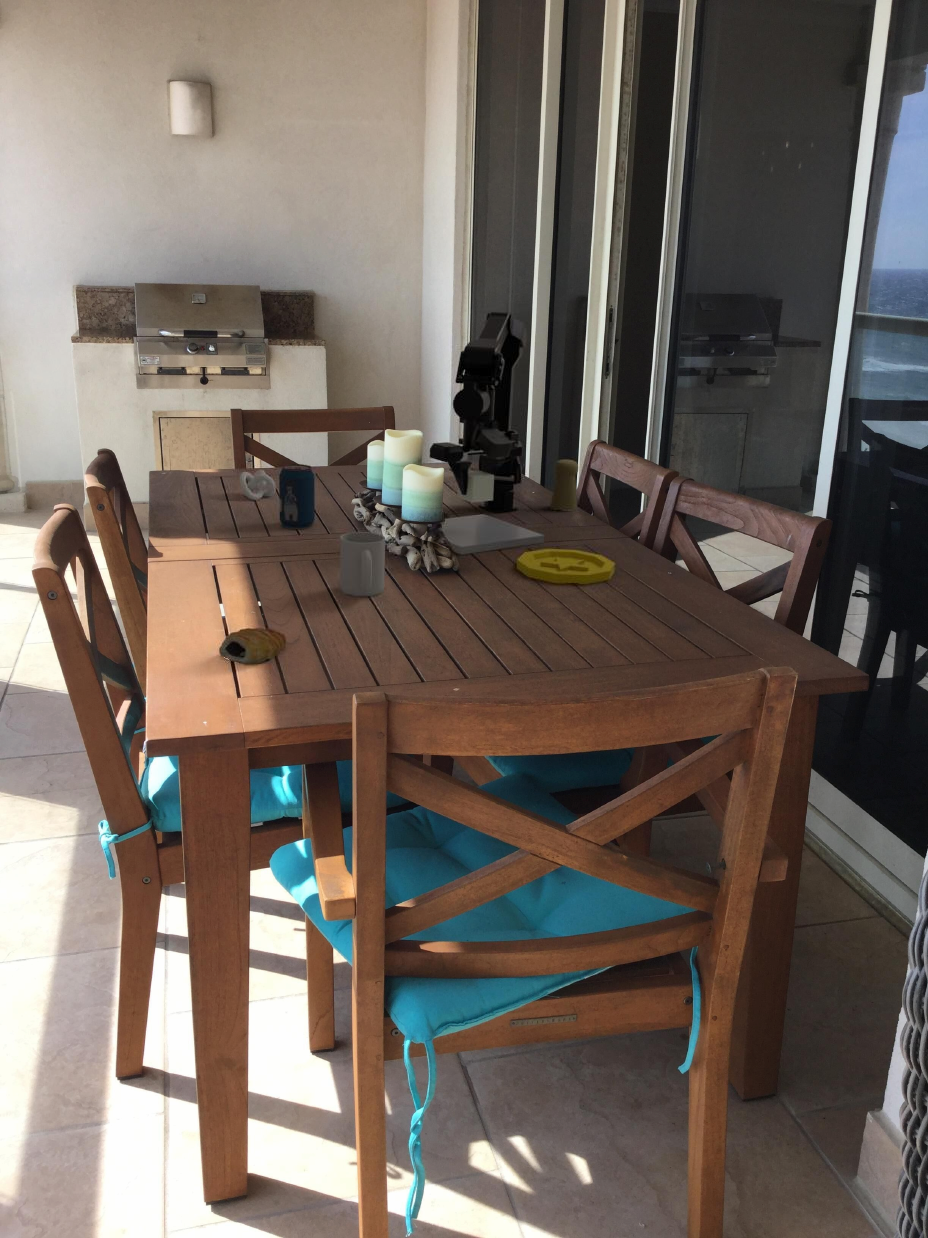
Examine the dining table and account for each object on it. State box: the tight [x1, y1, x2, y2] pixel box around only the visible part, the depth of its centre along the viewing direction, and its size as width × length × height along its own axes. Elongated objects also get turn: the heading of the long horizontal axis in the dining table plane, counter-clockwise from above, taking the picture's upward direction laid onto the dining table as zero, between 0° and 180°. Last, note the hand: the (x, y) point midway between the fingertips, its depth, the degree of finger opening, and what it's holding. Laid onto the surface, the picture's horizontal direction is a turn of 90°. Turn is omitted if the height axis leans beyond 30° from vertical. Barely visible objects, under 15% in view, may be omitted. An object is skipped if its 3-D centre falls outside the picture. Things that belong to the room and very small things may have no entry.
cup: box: [339, 531, 386, 598], centre depth 169 cm, size 7×10×9 cm
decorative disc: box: [516, 548, 616, 585], centre depth 188 cm, size 17×18×2 cm
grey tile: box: [442, 513, 545, 555], centre depth 208 cm, size 20×20×2 cm
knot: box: [238, 469, 277, 501], centre depth 233 cm, size 8×8×6 cm
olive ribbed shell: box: [218, 627, 287, 665], centre depth 142 cm, size 9×7×4 cm
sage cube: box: [456, 469, 494, 503], centre depth 205 cm, size 5×5×5 cm
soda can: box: [278, 463, 316, 530], centre depth 209 cm, size 7×7×12 cm
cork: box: [549, 458, 579, 511], centre depth 235 cm, size 6×6×11 cm
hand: (475, 493), depth 206 cm, fingers closed on sage cube, 5 cm apart
